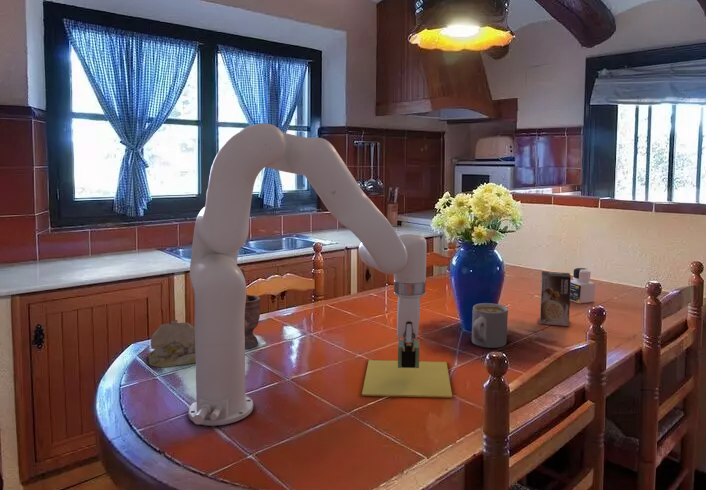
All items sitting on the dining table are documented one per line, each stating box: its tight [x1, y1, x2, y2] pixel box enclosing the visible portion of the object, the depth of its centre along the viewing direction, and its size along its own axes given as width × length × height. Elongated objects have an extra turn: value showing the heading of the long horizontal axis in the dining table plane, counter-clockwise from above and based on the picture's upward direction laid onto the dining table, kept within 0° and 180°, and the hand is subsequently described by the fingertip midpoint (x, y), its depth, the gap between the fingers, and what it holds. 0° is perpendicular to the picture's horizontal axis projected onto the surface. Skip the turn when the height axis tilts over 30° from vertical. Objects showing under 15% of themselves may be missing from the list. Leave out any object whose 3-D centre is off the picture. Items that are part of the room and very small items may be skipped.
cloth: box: [361, 359, 453, 399], centre depth 133 cm, size 20×20×1 cm
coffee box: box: [539, 270, 572, 327], centre depth 179 cm, size 9×6×16 cm
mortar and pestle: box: [240, 268, 261, 350], centre depth 153 cm, size 12×9×20 cm
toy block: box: [397, 339, 420, 368], centre depth 132 cm, size 5×5×5 cm
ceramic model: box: [147, 319, 196, 368], centre depth 141 cm, size 14×11×10 cm
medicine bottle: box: [570, 267, 596, 304], centre depth 207 cm, size 7×7×12 cm
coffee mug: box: [471, 302, 509, 349], centre depth 158 cm, size 13×10×10 cm
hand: (408, 361), depth 133 cm, fingers closed on toy block, 5 cm apart
